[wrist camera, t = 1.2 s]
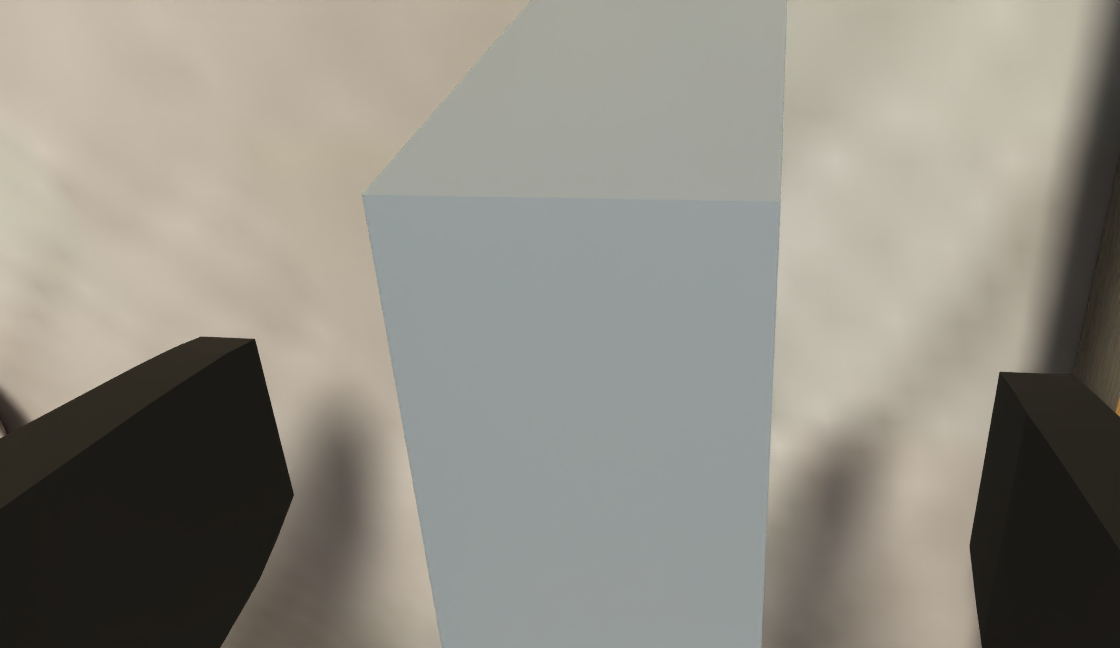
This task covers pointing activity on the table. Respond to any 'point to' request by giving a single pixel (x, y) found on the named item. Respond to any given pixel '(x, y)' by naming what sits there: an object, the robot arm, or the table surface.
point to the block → (593, 324)
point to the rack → (1104, 316)
